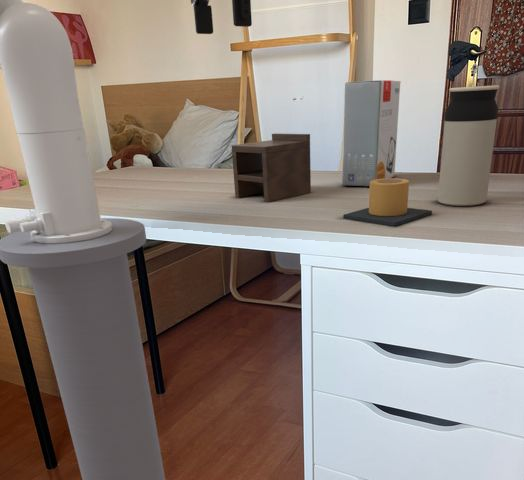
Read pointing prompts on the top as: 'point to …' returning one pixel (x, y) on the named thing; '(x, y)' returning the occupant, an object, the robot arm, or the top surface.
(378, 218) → the mat
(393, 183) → the tape roll
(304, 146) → the rack
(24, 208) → the top surface
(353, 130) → the hard drive box
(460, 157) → the travel mug
